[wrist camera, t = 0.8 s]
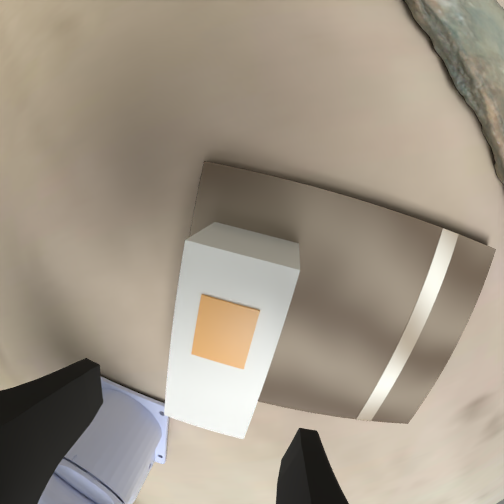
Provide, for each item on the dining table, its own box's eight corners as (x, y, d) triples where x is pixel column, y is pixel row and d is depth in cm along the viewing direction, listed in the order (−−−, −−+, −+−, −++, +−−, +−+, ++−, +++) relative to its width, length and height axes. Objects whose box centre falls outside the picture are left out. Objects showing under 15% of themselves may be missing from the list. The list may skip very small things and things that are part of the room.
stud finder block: (254, 389, 18) (243, 440, 14) (188, 370, 18) (163, 416, 14) (298, 243, 15) (300, 270, 11) (214, 222, 16) (184, 240, 11)
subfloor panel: (404, 415, 18) (408, 424, 17) (174, 367, 20) (169, 375, 19) (487, 245, 15) (496, 249, 14) (209, 162, 16) (203, 161, 15)
